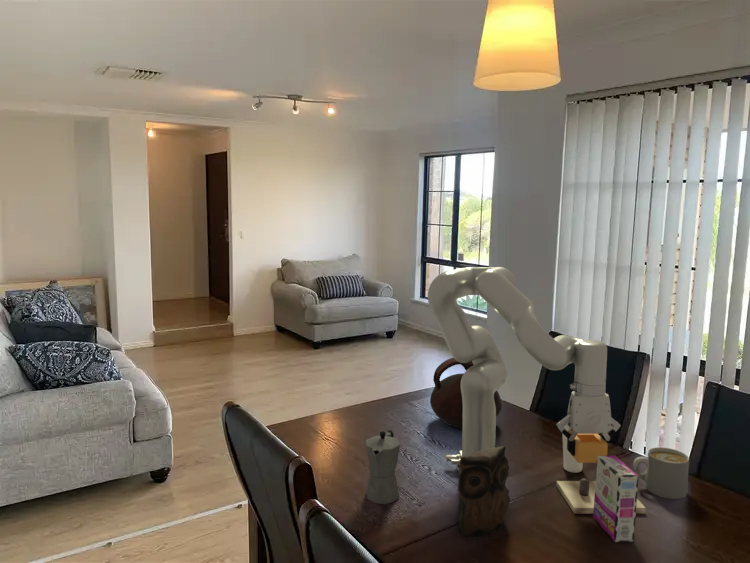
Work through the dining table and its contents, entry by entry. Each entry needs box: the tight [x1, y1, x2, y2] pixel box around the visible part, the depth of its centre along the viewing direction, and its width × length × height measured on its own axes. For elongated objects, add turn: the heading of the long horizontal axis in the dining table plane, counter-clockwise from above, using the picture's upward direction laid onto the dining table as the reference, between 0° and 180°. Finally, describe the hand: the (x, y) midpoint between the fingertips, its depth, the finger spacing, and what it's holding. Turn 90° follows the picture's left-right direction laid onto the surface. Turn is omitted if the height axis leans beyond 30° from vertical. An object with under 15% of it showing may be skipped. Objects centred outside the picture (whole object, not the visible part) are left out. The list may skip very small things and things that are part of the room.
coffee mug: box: [632, 446, 690, 500], centre depth 155 cm, size 13×10×10 cm
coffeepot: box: [365, 429, 401, 505], centre depth 152 cm, size 15×9×18 cm, turn 162°
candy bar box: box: [593, 455, 639, 543], centre depth 135 cm, size 11×5×16 cm, turn 5°
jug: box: [429, 357, 503, 429], centre depth 201 cm, size 25×25×25 cm
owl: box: [457, 445, 511, 539], centre depth 136 cm, size 13×13×20 cm
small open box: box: [573, 434, 609, 464], centre depth 148 cm, size 7×7×5 cm
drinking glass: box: [561, 424, 584, 474], centre depth 166 cm, size 7×7×15 cm
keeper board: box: [556, 477, 646, 515], centre depth 150 cm, size 18×14×6 cm
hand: (587, 453), depth 148 cm, fingers closed on small open box, 7 cm apart
